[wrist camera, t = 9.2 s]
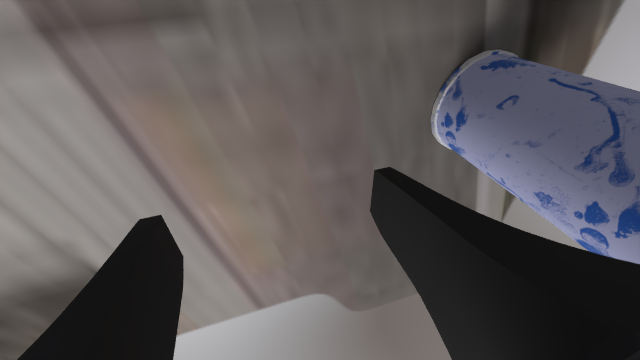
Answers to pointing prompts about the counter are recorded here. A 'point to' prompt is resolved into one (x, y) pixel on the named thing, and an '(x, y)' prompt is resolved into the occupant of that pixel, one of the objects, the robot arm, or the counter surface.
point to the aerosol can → (550, 144)
